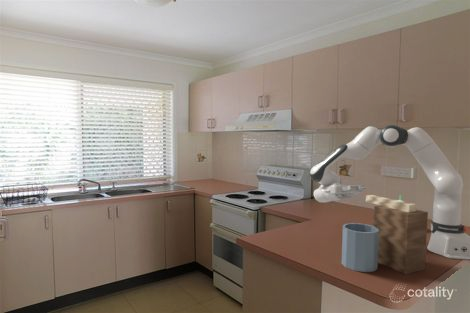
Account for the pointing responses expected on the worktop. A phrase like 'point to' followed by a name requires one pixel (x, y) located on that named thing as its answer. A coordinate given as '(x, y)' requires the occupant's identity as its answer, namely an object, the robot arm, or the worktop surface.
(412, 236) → the stand
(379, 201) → the slat
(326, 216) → the worktop surface
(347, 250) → the pot
